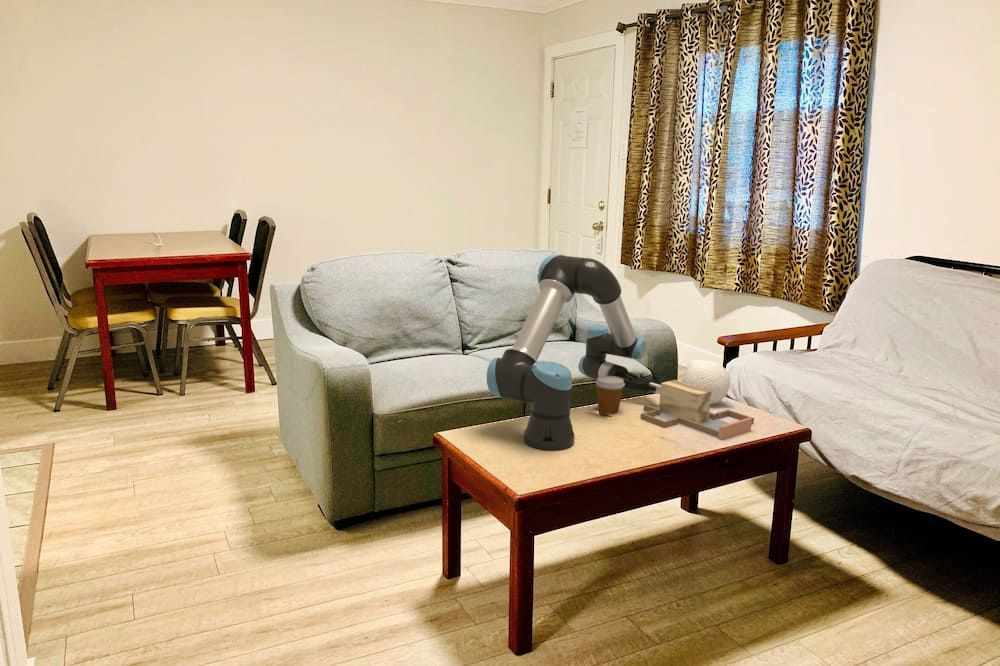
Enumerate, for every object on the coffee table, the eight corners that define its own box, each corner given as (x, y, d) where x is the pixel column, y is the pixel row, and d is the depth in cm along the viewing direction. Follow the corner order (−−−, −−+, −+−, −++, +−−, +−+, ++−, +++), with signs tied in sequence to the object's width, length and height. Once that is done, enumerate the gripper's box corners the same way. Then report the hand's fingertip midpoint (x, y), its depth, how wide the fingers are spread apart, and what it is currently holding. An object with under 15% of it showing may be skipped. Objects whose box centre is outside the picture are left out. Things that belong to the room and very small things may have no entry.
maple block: (694, 424, 243) (697, 394, 241) (658, 411, 254) (661, 383, 252) (708, 420, 247) (711, 391, 245) (672, 408, 259) (674, 379, 256)
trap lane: (706, 448, 227) (708, 431, 226) (627, 417, 251) (628, 402, 250) (762, 430, 244) (764, 414, 242) (683, 403, 268) (684, 388, 267)
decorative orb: (696, 415, 256) (700, 369, 252) (662, 399, 271) (666, 356, 268) (741, 407, 265) (745, 363, 261) (705, 393, 280) (709, 351, 277)
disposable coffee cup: (624, 419, 250) (626, 384, 247) (595, 418, 250) (597, 383, 247) (620, 409, 259) (622, 375, 256) (592, 408, 259) (594, 374, 256)
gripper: (625, 381, 279) (676, 398, 261) (600, 387, 271) (651, 405, 253) (627, 361, 277) (678, 377, 259) (601, 367, 269) (652, 383, 251)
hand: (664, 391), depth 256 cm, fingers closed
